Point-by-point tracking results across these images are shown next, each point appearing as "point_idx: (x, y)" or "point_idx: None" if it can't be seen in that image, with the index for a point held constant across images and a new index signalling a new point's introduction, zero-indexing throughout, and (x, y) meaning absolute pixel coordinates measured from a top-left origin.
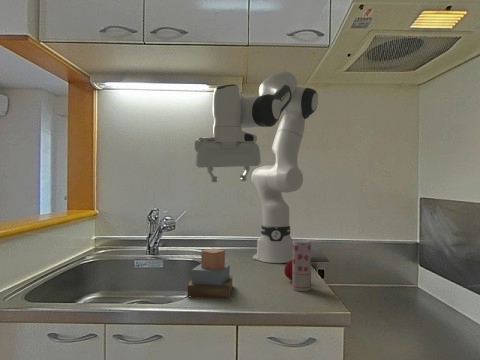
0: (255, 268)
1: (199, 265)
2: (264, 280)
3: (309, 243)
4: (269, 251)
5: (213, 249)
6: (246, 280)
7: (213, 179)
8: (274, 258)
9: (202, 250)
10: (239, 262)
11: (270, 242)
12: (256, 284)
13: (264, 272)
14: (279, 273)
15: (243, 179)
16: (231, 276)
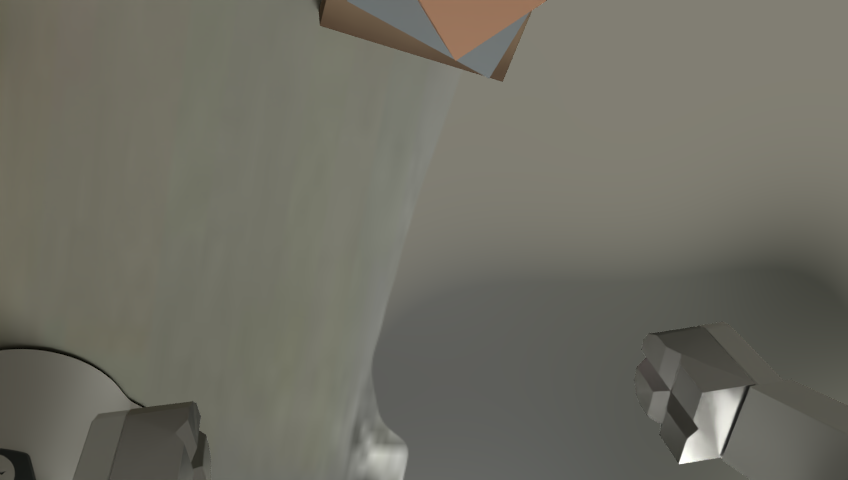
0: (159, 285)
1: (517, 20)
2: (133, 78)
3: None
4: (58, 407)
5: (464, 22)
6: (231, 96)
7: (729, 347)
8: (41, 370)
9: (540, 2)
10: (226, 379)
11: (35, 448)
12: (186, 15)
13: (118, 216)
14: (35, 188)
15: (156, 416)
16: (328, 7)
